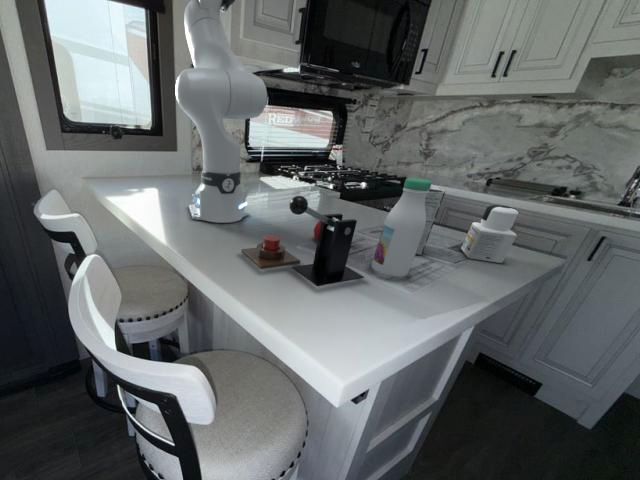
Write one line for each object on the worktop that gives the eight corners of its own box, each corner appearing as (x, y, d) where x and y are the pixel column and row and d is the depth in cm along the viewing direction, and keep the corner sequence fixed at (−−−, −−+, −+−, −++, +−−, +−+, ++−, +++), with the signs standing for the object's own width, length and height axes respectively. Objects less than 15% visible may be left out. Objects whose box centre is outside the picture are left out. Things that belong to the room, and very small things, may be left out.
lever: (292, 212, 52) (302, 195, 51) (283, 208, 55) (291, 191, 54) (342, 239, 60) (351, 224, 59) (332, 233, 63) (340, 219, 62)
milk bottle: (409, 272, 70) (443, 180, 60) (403, 284, 64) (440, 185, 54) (374, 263, 74) (401, 174, 63) (366, 273, 68) (394, 178, 58)
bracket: (316, 290, 60) (329, 226, 53) (291, 271, 67) (300, 213, 60) (362, 281, 64) (380, 222, 58) (335, 264, 71) (347, 209, 65)
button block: (241, 255, 73) (241, 241, 71) (277, 251, 77) (278, 238, 75) (260, 273, 65) (261, 258, 64) (299, 267, 69) (301, 252, 67)
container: (460, 248, 86) (481, 201, 79) (492, 253, 84) (516, 205, 77) (467, 258, 80) (491, 208, 73) (502, 263, 78) (529, 212, 71)
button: (260, 246, 70) (261, 236, 69) (273, 245, 72) (274, 234, 70) (267, 252, 68) (268, 241, 66) (281, 250, 69) (283, 239, 68)
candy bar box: (392, 239, 90) (411, 180, 81) (410, 241, 89) (431, 182, 81) (402, 253, 80) (424, 188, 72) (422, 255, 80) (447, 190, 71)
